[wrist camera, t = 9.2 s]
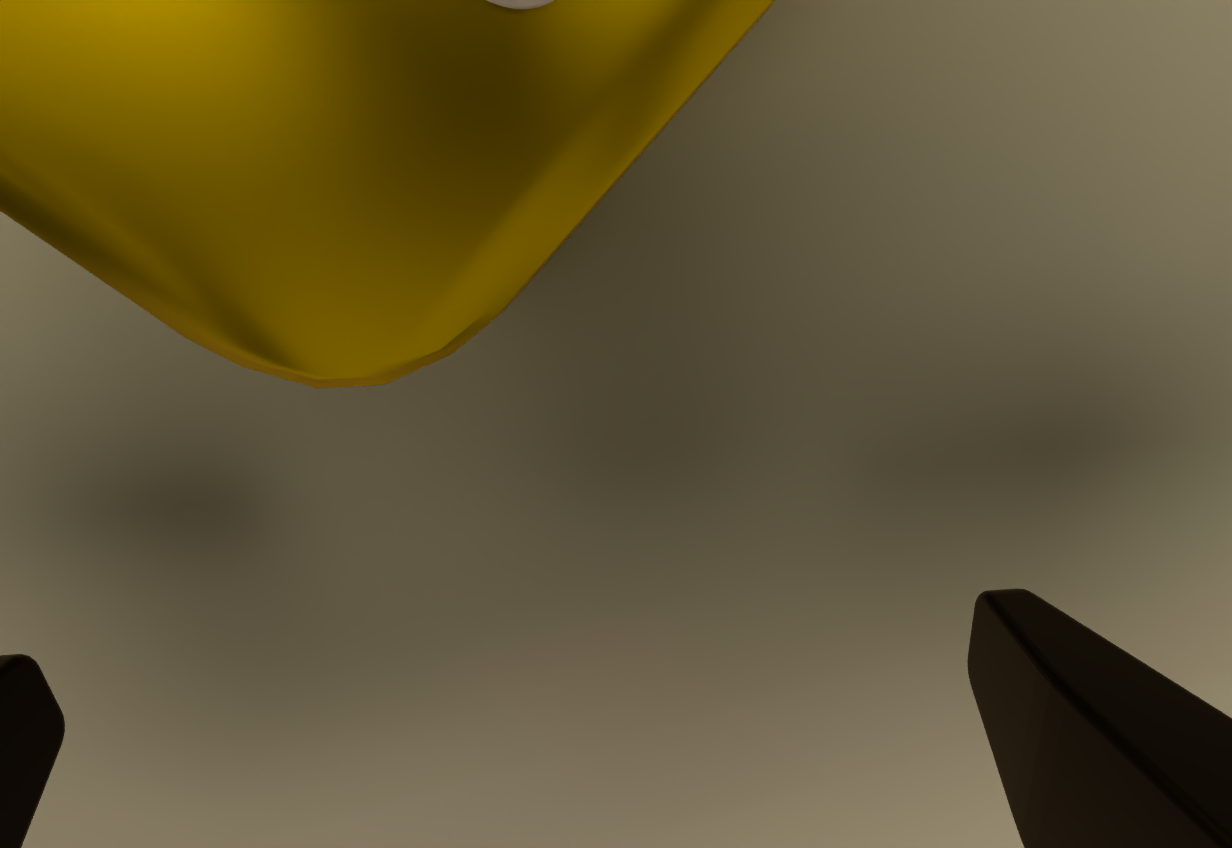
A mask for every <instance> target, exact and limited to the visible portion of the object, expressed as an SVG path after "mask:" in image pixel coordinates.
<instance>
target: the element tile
mask: <svg viewBox="0 0 1232 848" xmlns="http://www.w3.org/2000/svg"><path fill="white" fill-rule="evenodd" d="M775 1H776V0H0V211H1V212H3V213H4V214H6V215H7V216H9V217H10V218H12V219H13V220H14V221H16V222H17V223H19V224H20V225H22V226H23V227H25V228H26V229H28V230H29V231H31V232H32V233H33V234H35V235H36V236H38V237H39V238H41V239H42V240H44V241H45V242H47V243H48V244H49V245H51V246H52V247H54V248H55V249H57V250H58V251H60V252H61V253H63V254H64V255H66V256H67V257H68V258H70V259H71V260H73V261H74V262H76V263H77V264H79V265H80V266H82V267H83V268H84V269H86V270H87V271H89V272H90V273H92V274H93V275H95V276H96V277H98V278H99V279H101V280H102V281H103V282H105V283H106V284H108V285H109V286H111V287H112V288H114V289H115V290H117V291H118V292H120V293H121V294H122V295H124V296H125V297H127V298H128V299H130V300H131V301H133V302H134V303H136V304H137V305H138V306H140V307H141V308H143V309H144V310H146V311H147V312H149V313H150V314H152V315H153V316H155V317H156V318H157V319H159V320H160V321H162V322H163V323H165V324H166V325H168V326H169V327H171V328H172V329H173V330H175V331H176V332H178V333H179V334H181V335H182V336H184V337H185V338H187V339H189V340H191V341H193V342H195V343H197V344H199V345H201V346H203V347H205V348H207V349H209V350H210V351H212V352H214V353H216V354H218V355H220V356H222V357H224V358H226V359H228V360H230V361H232V362H234V363H236V364H238V365H240V366H242V367H245V368H248V369H252V370H255V371H259V372H262V373H266V374H269V375H273V376H276V377H280V378H284V379H287V380H291V381H294V382H298V383H301V384H305V385H308V386H312V387H315V388H328V387H346V386H364V385H381V384H387V383H389V382H391V381H394V380H396V379H398V378H400V377H402V376H405V375H407V374H409V373H411V372H413V371H416V370H418V369H420V368H422V367H424V366H427V365H429V364H431V363H433V362H435V361H438V360H440V359H442V358H444V357H446V356H449V355H450V354H452V353H454V352H455V351H456V350H458V349H459V348H460V347H461V346H462V345H464V344H465V343H466V342H467V341H468V340H470V339H471V338H472V337H473V336H474V335H476V334H477V333H478V332H479V331H480V330H482V329H483V328H484V327H485V326H486V325H488V324H489V323H490V322H491V321H492V320H494V319H495V318H496V317H497V316H498V315H500V314H501V313H502V312H503V311H504V310H505V309H506V308H507V307H508V305H509V304H510V303H511V302H512V301H513V300H514V299H515V297H516V296H517V295H518V294H519V293H520V292H521V291H522V289H523V288H524V287H525V286H526V285H527V284H528V283H529V281H530V280H531V279H532V278H533V277H534V276H535V275H536V273H537V272H538V271H539V270H540V269H541V268H542V267H543V265H544V264H545V263H546V262H547V261H548V260H549V259H550V257H551V256H552V255H553V254H554V253H555V252H556V251H557V250H558V248H559V247H560V246H561V245H562V244H563V243H564V242H565V240H566V239H567V238H568V237H569V236H570V235H571V234H572V232H573V231H574V230H575V229H576V228H577V227H578V226H579V224H580V223H581V222H582V221H583V220H584V219H585V218H586V216H587V215H588V214H589V213H590V212H591V211H592V210H593V208H594V207H595V206H596V205H597V204H598V203H599V202H600V200H601V199H602V198H603V197H604V196H605V195H606V194H607V192H608V191H609V190H610V189H611V188H612V187H613V186H614V185H615V183H616V182H617V181H618V180H619V179H620V178H621V177H622V175H623V174H624V173H625V172H626V171H627V170H628V169H629V167H630V166H631V165H632V164H633V163H634V162H635V161H636V159H637V158H638V157H639V156H640V155H641V154H642V153H643V151H644V150H645V149H646V148H647V147H648V146H649V145H650V143H651V142H652V141H653V140H654V139H655V138H656V137H657V135H658V134H659V133H660V132H661V131H662V130H663V129H664V128H665V126H666V125H667V124H668V123H669V122H670V121H671V120H672V118H673V117H674V116H675V115H676V114H677V113H678V112H679V110H680V109H681V108H682V107H683V106H684V105H685V104H686V102H687V101H688V100H689V99H690V98H691V97H692V96H693V94H694V93H695V92H696V91H697V90H698V89H699V88H700V86H701V85H702V84H703V83H704V82H705V81H706V80H707V78H708V77H709V76H710V75H711V74H712V73H713V72H714V70H715V69H716V68H717V67H718V66H719V65H720V64H721V63H722V61H723V60H724V59H725V58H726V57H727V56H728V55H729V53H730V52H731V51H732V50H733V49H734V48H735V47H736V45H737V44H738V43H739V42H740V41H741V40H742V39H743V37H744V36H745V35H746V34H747V33H748V32H749V31H750V29H751V28H752V27H753V26H754V25H755V24H756V23H757V21H758V20H759V19H760V18H761V17H762V16H763V15H764V13H765V12H766V11H767V10H768V9H769V8H770V7H771V5H772V4H773V3H774V2H775Z"/></svg>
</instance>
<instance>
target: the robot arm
mask: <svg viewBox="0 0 1232 848" xmlns="http://www.w3.org/2000/svg"><path fill="white" fill-rule="evenodd" d="M968 674H969V679H970V683H971V687H972V690H973V693H974V696H975V699H976V703H977V706H978V709H979V712H980V715H981V718H982V721H983V724H984V728H985V731H986V734H987V737H988V740H989V743H990V746H991V749H992V753H993V756H994V759H995V762H996V765H997V768H998V771H999V774H1000V778H1001V781H1002V784H1003V787H1004V790H1005V793H1006V796H1007V799H1008V803H1009V806H1010V809H1011V812H1012V815H1013V818H1014V821H1015V823H1016V826H1017V829H1018V832H1019V835H1020V838H1021V840H1022V843H1023V845H1024V847H1025V848H1232V718H1231V717H1229V716H1227V715H1226V714H1224V713H1223V712H1221V711H1219V710H1218V709H1216V708H1215V707H1213V706H1211V705H1210V704H1208V703H1207V702H1205V701H1203V700H1202V699H1200V698H1199V697H1197V696H1196V695H1194V694H1192V693H1191V692H1189V691H1188V690H1186V689H1184V688H1183V687H1181V686H1180V685H1178V684H1176V683H1175V682H1173V681H1172V680H1170V679H1169V678H1167V677H1165V676H1164V675H1162V674H1161V673H1159V672H1157V671H1156V670H1154V669H1153V668H1151V667H1149V666H1148V665H1146V664H1145V663H1143V662H1141V661H1140V660H1138V659H1137V658H1135V657H1134V656H1132V655H1130V654H1129V653H1127V652H1126V651H1124V650H1122V649H1121V648H1119V647H1118V646H1116V645H1114V644H1113V643H1111V642H1110V641H1108V640H1106V639H1105V638H1103V637H1102V636H1100V635H1099V634H1097V633H1095V632H1094V631H1092V630H1091V629H1089V628H1087V627H1086V626H1084V625H1083V624H1081V623H1079V622H1078V621H1076V620H1075V619H1073V618H1072V617H1070V616H1068V615H1067V614H1065V613H1064V612H1062V611H1060V610H1059V609H1057V608H1056V607H1054V606H1052V605H1051V604H1049V603H1048V602H1046V601H1044V600H1043V599H1041V598H1040V597H1038V596H1037V595H1035V594H1033V593H1031V592H1030V591H1028V590H1025V589H1005V590H990V591H984V592H983V593H981V594H980V595H979V596H978V598H977V600H976V603H975V608H974V615H973V622H972V630H971V637H970V645H969V652H968ZM64 732H65V722H64V716H63V713H62V711H61V709H60V707H59V705H58V703H57V701H56V699H55V697H54V695H53V693H52V691H51V689H50V687H49V685H48V683H47V681H46V679H45V677H44V675H43V673H42V671H41V669H40V667H39V665H38V664H37V662H36V661H35V660H34V659H32V658H31V657H30V656H27V655H23V654H15V655H0V848H21V847H22V844H23V841H24V839H25V836H26V834H27V831H28V829H29V826H30V824H31V821H32V819H33V816H34V813H35V811H36V808H37V806H38V803H39V801H40V798H41V796H42V793H43V791H44V788H45V785H46V783H47V780H48V778H49V775H50V773H51V770H52V768H53V765H54V762H55V760H56V757H57V755H58V752H59V750H60V747H61V745H62V741H63V738H64Z"/></svg>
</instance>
